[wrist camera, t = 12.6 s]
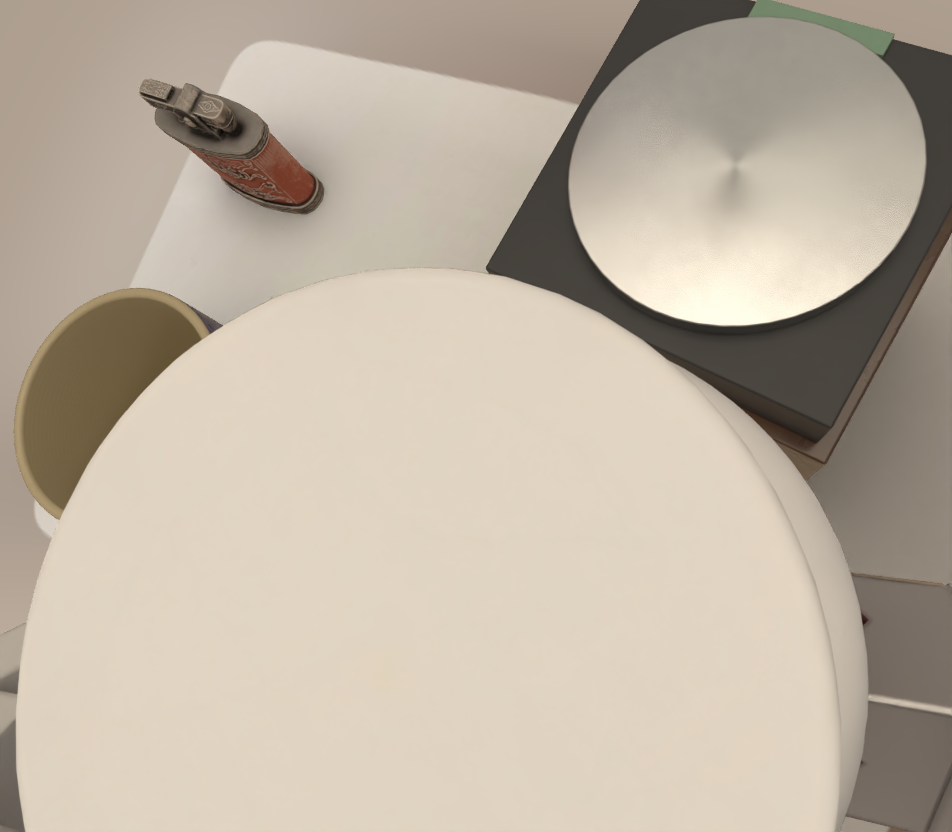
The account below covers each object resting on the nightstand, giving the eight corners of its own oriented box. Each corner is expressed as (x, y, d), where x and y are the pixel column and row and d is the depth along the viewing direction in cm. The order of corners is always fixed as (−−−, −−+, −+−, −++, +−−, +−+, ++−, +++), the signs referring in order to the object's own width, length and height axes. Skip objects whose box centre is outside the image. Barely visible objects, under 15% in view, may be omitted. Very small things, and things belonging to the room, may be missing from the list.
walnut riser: (894, 287, 38) (1016, 115, 24) (774, 507, 37) (825, 465, 23) (664, 198, 42) (651, 9, 28) (554, 393, 42) (484, 300, 28)
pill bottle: (768, 809, 13) (1112, 1859, 2) (440, 745, 15) (-214, 1168, 4) (779, 465, 14) (1043, 109, 3) (474, 445, 16) (30, 173, 5)
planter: (124, 451, 49) (-26, 418, 39) (245, 312, 49) (126, 241, 38) (231, 583, 45) (94, 585, 35) (365, 432, 44) (268, 389, 34)
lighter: (332, 178, 49) (247, 83, 40) (310, 223, 49) (219, 138, 39) (240, 148, 52) (140, 52, 42) (219, 190, 51) (114, 104, 42)
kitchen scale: (992, 123, 24) (1037, 55, 21) (817, 444, 23) (837, 423, 20) (657, 23, 28) (653, -46, 25) (501, 294, 27) (477, 258, 24)
